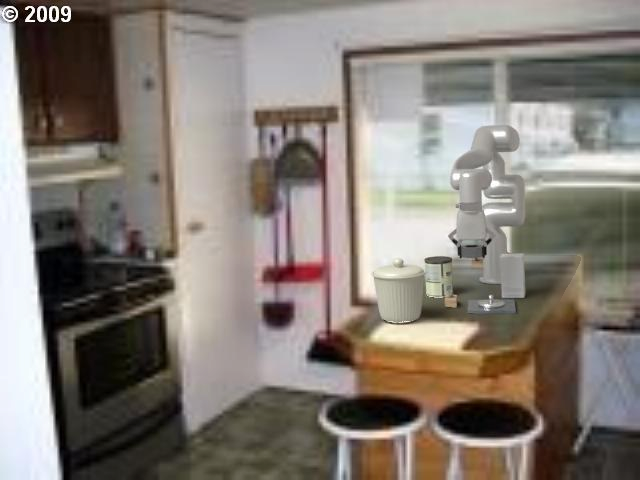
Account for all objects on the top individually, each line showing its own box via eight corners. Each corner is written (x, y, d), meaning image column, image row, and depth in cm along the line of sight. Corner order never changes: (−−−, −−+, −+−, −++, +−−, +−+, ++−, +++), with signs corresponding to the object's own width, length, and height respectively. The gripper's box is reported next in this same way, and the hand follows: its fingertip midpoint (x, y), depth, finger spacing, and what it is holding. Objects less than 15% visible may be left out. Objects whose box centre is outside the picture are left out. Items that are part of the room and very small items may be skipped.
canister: (413, 329, 254) (411, 264, 251) (364, 324, 264) (361, 262, 261) (436, 315, 269) (434, 254, 266) (388, 311, 279) (386, 252, 276)
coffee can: (430, 291, 306) (428, 255, 304) (456, 292, 302) (455, 256, 299) (422, 297, 297) (420, 260, 294) (449, 299, 292) (447, 261, 290)
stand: (445, 303, 286) (445, 291, 285) (457, 303, 285) (456, 291, 285) (445, 307, 280) (444, 295, 279) (456, 307, 279) (456, 295, 278)
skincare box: (525, 294, 292) (525, 253, 290) (524, 298, 286) (523, 256, 284) (502, 294, 295) (501, 253, 293) (500, 298, 289) (499, 256, 287)
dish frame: (472, 260, 365) (472, 253, 364) (515, 259, 361) (515, 252, 360) (471, 268, 345) (471, 261, 344) (517, 268, 341) (517, 261, 340)
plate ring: (462, 254, 280) (461, 244, 280) (483, 254, 279) (482, 244, 278) (460, 258, 273) (460, 248, 273) (482, 257, 272) (481, 247, 271)
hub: (468, 302, 285) (468, 290, 285) (514, 302, 282) (513, 289, 281) (467, 313, 270) (467, 300, 269) (515, 313, 266) (515, 300, 266)
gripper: (444, 209, 272) (446, 259, 275) (496, 207, 268) (497, 259, 270) (446, 206, 279) (447, 255, 282) (496, 205, 275) (498, 255, 278)
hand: (472, 257), depth 276 cm, fingers closed on plate ring, 7 cm apart
